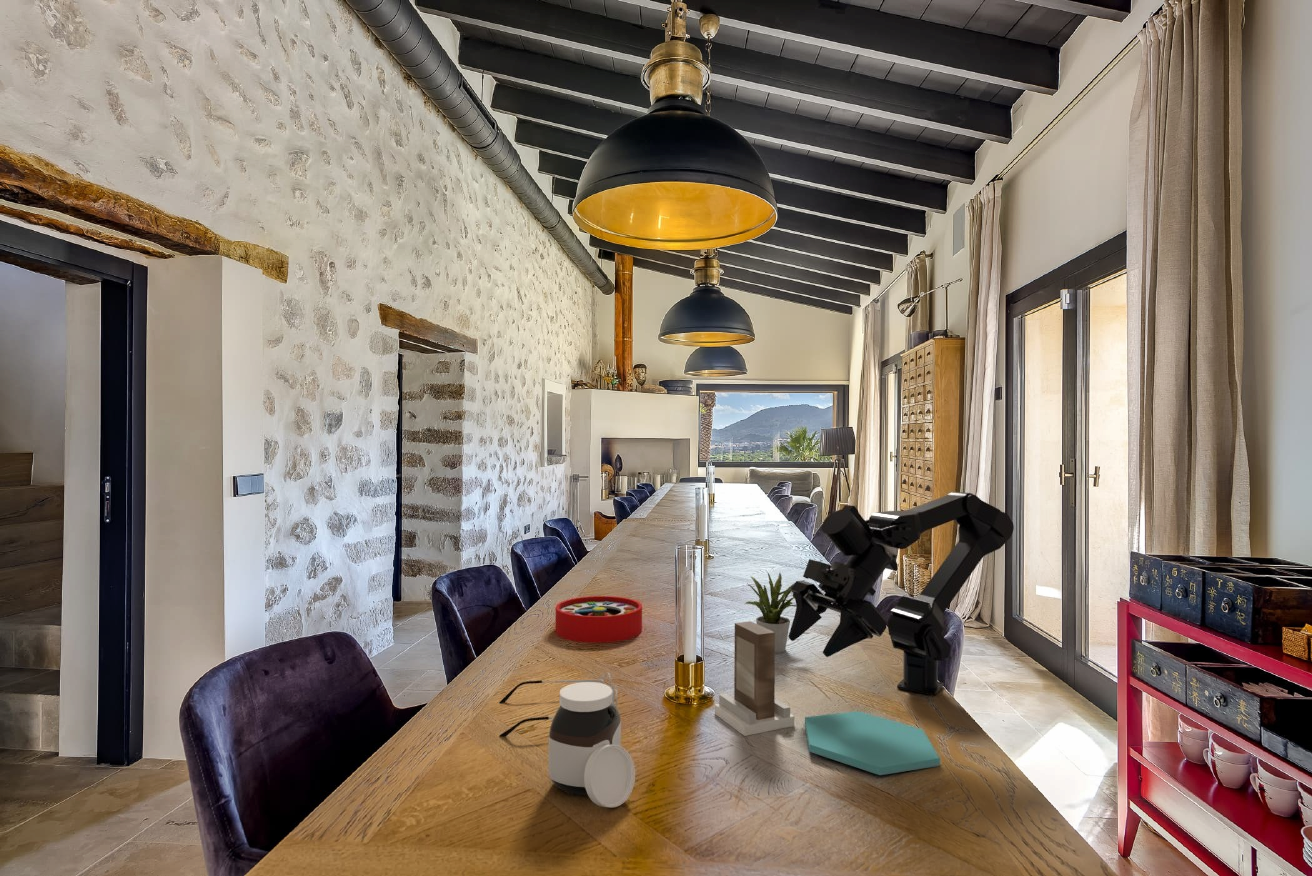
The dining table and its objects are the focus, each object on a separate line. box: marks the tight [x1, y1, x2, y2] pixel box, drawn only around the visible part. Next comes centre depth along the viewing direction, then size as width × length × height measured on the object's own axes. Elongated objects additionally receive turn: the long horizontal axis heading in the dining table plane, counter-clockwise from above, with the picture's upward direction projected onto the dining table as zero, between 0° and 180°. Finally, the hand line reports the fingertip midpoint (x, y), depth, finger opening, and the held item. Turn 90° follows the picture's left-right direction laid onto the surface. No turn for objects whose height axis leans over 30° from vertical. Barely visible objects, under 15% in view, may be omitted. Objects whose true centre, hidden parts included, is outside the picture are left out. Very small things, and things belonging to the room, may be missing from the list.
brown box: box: [733, 620, 776, 720], centre depth 107 cm, size 3×7×13 cm, turn 24°
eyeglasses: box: [498, 672, 618, 738], centre depth 109 cm, size 16×19×5 cm
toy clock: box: [554, 595, 643, 644], centre depth 158 cm, size 20×6×20 cm
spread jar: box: [547, 682, 636, 809], centre depth 86 cm, size 12×11×12 cm
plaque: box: [804, 710, 941, 776], centre depth 99 cm, size 18×2×20 cm
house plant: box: [744, 571, 805, 654], centre depth 142 cm, size 14×14×16 cm
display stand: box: [714, 692, 795, 737], centre depth 107 cm, size 9×9×3 cm
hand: (806, 646), depth 111 cm, fingers open, 9 cm apart
